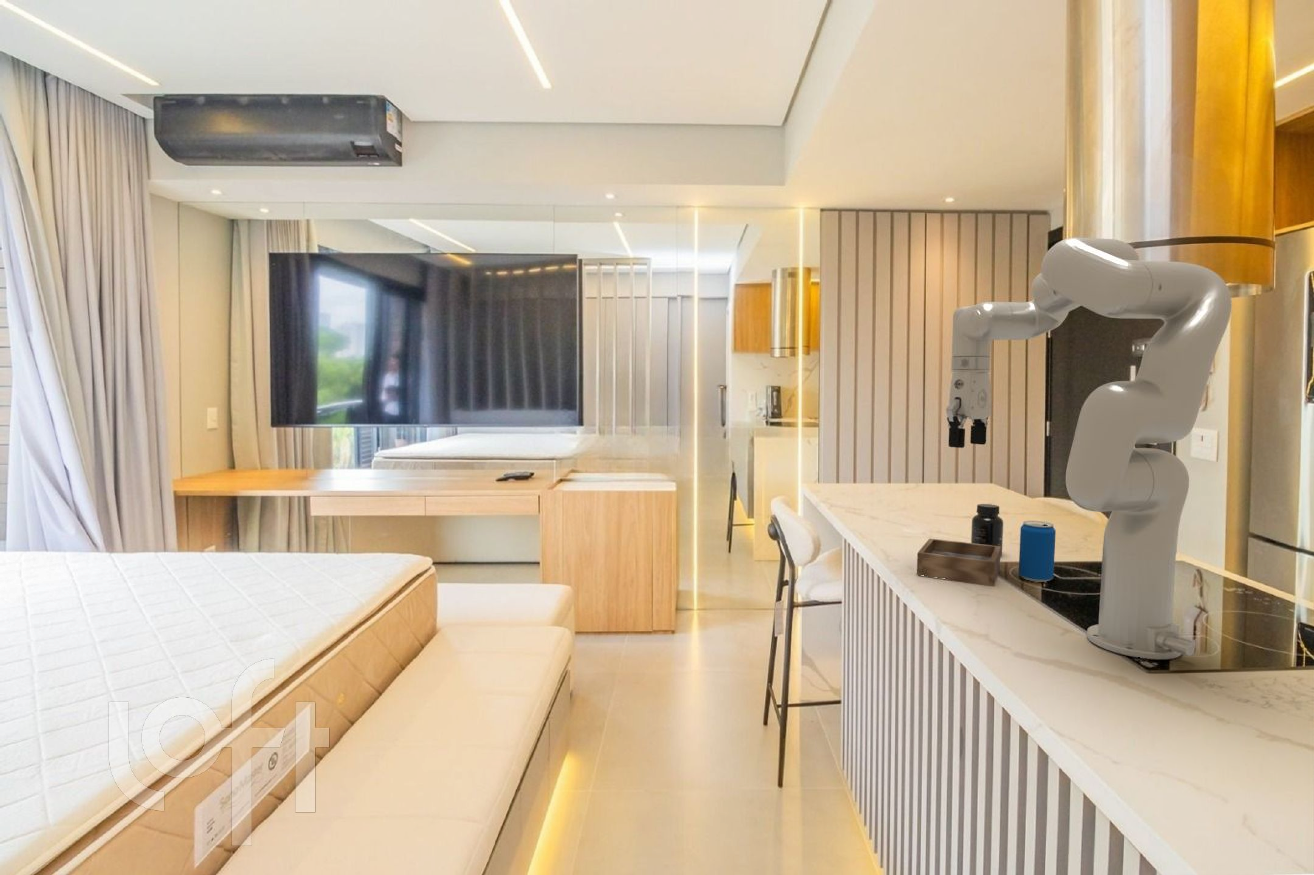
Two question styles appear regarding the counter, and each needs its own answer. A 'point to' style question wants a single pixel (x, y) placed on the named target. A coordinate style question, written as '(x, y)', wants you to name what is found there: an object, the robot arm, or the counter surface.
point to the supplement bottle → (987, 526)
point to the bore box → (959, 561)
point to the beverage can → (1037, 551)
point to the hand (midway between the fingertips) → (967, 445)
